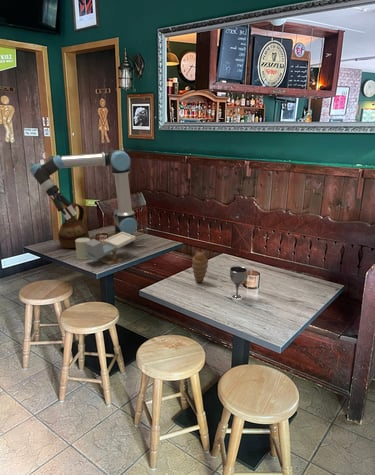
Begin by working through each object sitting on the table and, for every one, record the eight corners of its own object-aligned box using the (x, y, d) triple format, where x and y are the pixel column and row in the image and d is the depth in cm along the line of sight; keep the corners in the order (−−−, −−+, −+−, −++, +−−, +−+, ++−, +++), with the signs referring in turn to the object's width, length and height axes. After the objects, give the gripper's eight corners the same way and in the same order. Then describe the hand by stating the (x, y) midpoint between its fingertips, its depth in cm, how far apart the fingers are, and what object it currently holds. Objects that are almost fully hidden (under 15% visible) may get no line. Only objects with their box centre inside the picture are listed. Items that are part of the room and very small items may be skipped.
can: (93, 255, 240) (92, 237, 236) (88, 260, 231) (87, 241, 228) (79, 254, 241) (78, 236, 237) (74, 259, 232) (72, 241, 229)
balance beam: (123, 236, 244) (120, 224, 240) (136, 241, 234) (133, 229, 231) (83, 255, 226) (79, 243, 223) (95, 261, 217) (92, 248, 213)
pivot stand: (109, 255, 240) (108, 243, 238) (123, 261, 230) (122, 249, 228) (95, 258, 234) (95, 246, 231) (109, 265, 223) (108, 252, 221)
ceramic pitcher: (53, 246, 255) (49, 203, 246) (77, 239, 271) (73, 198, 262) (72, 252, 245) (68, 207, 236) (95, 244, 260) (93, 202, 251)
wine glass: (228, 293, 189) (229, 266, 185) (243, 294, 189) (245, 266, 185) (229, 300, 182) (230, 272, 177) (245, 301, 181) (247, 272, 177)
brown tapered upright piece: (208, 280, 204) (209, 249, 199) (205, 286, 197) (206, 254, 191) (193, 278, 207) (194, 247, 201) (189, 284, 199) (189, 252, 194)
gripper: (52, 189, 237) (72, 216, 241) (37, 193, 213) (61, 224, 217) (61, 182, 236) (82, 210, 241) (48, 186, 212) (71, 217, 216)
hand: (72, 216), depth 229 cm, fingers open, 13 cm apart
